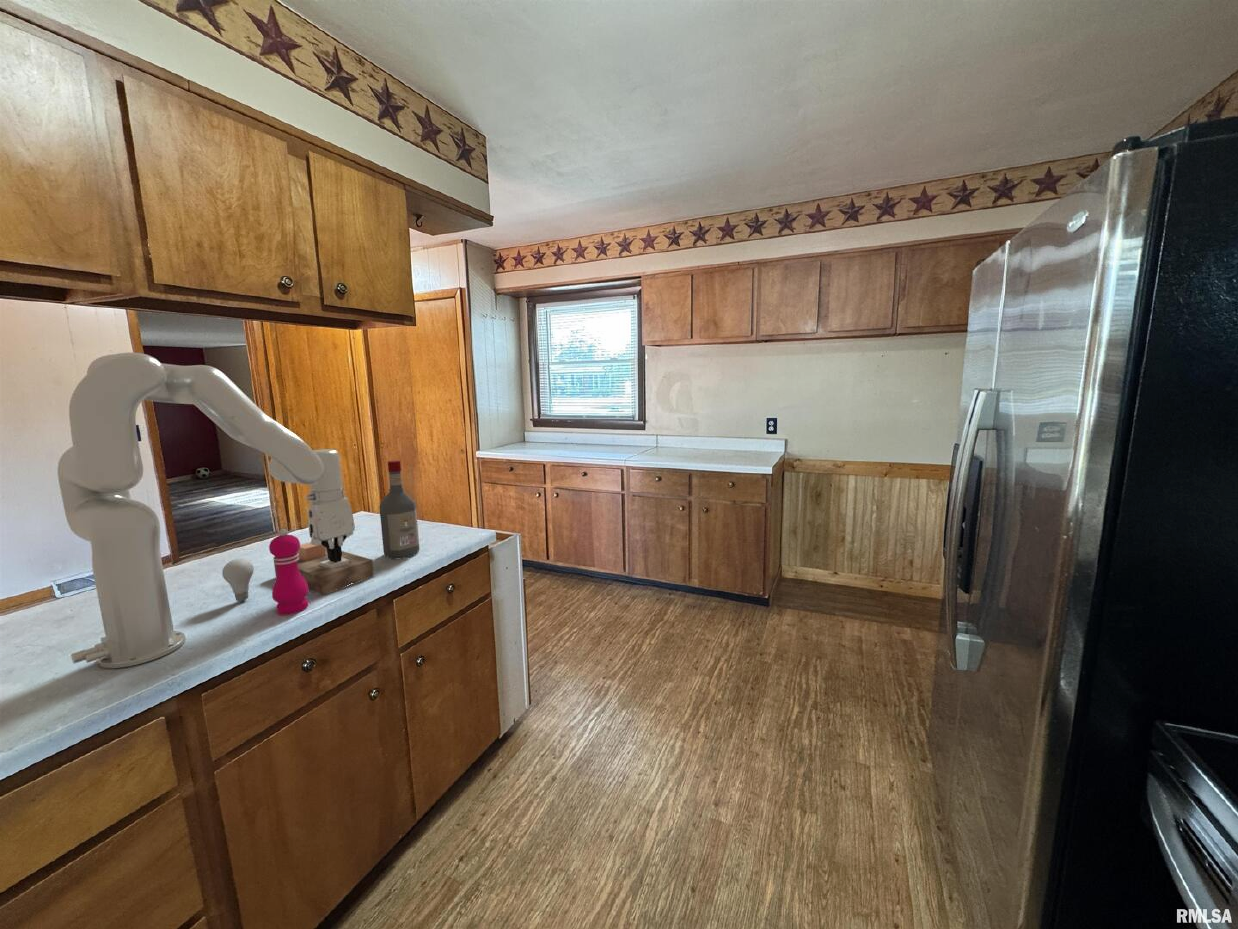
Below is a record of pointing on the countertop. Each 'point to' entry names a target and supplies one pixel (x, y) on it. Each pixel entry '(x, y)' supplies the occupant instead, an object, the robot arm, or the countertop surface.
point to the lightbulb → (238, 577)
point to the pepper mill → (288, 575)
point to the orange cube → (310, 551)
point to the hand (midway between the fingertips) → (335, 560)
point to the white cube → (333, 563)
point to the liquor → (398, 518)
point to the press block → (334, 572)
